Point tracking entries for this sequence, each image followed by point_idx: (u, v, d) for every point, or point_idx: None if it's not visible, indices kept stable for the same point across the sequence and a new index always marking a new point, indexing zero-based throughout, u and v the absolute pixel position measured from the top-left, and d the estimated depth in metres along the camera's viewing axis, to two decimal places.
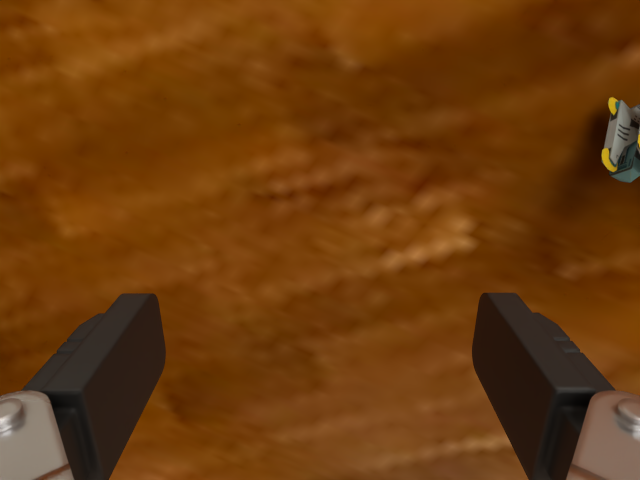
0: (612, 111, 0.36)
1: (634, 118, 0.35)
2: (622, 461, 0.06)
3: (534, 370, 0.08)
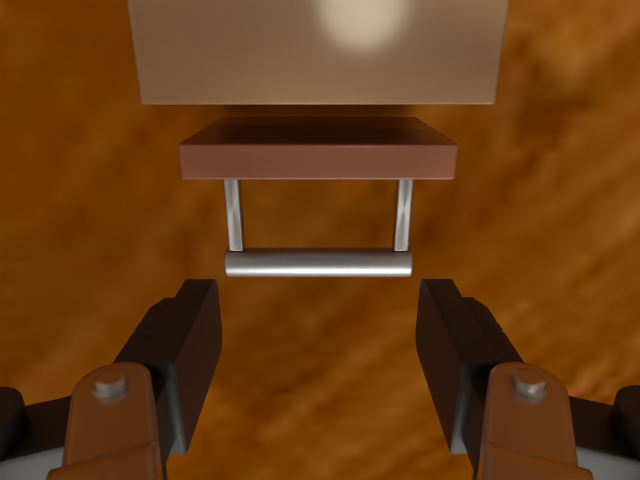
0: None
1: None
2: (524, 427, 0.07)
3: (451, 346, 0.09)
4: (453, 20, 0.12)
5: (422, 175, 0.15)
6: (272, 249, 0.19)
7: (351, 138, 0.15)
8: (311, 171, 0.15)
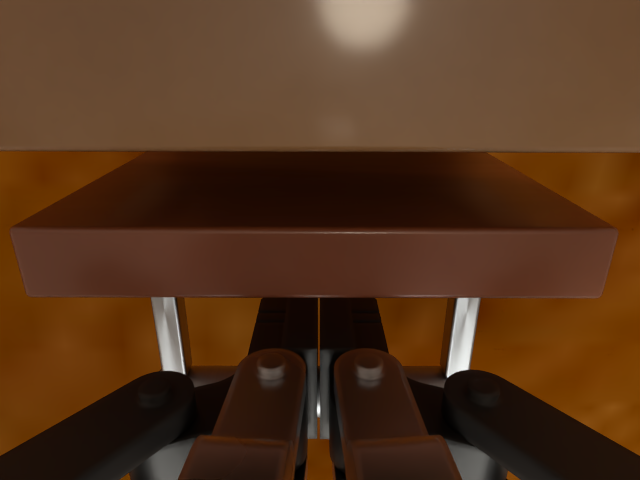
0: None
1: None
2: (376, 412, 0.07)
3: None
4: None
5: (536, 291, 0.07)
6: None
7: (382, 206, 0.08)
8: (300, 283, 0.07)
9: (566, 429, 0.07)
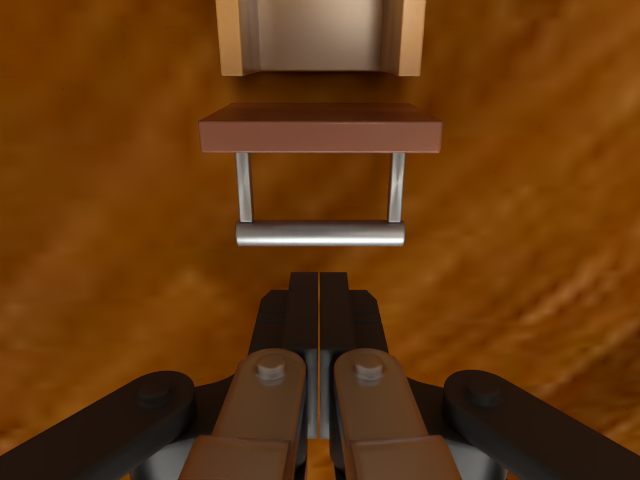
0: None
1: None
2: (376, 412, 0.07)
3: None
4: None
5: (412, 149, 0.17)
6: (278, 221, 0.21)
7: (349, 117, 0.18)
8: (314, 145, 0.17)
9: (566, 429, 0.07)
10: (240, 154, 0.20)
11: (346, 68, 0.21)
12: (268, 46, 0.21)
